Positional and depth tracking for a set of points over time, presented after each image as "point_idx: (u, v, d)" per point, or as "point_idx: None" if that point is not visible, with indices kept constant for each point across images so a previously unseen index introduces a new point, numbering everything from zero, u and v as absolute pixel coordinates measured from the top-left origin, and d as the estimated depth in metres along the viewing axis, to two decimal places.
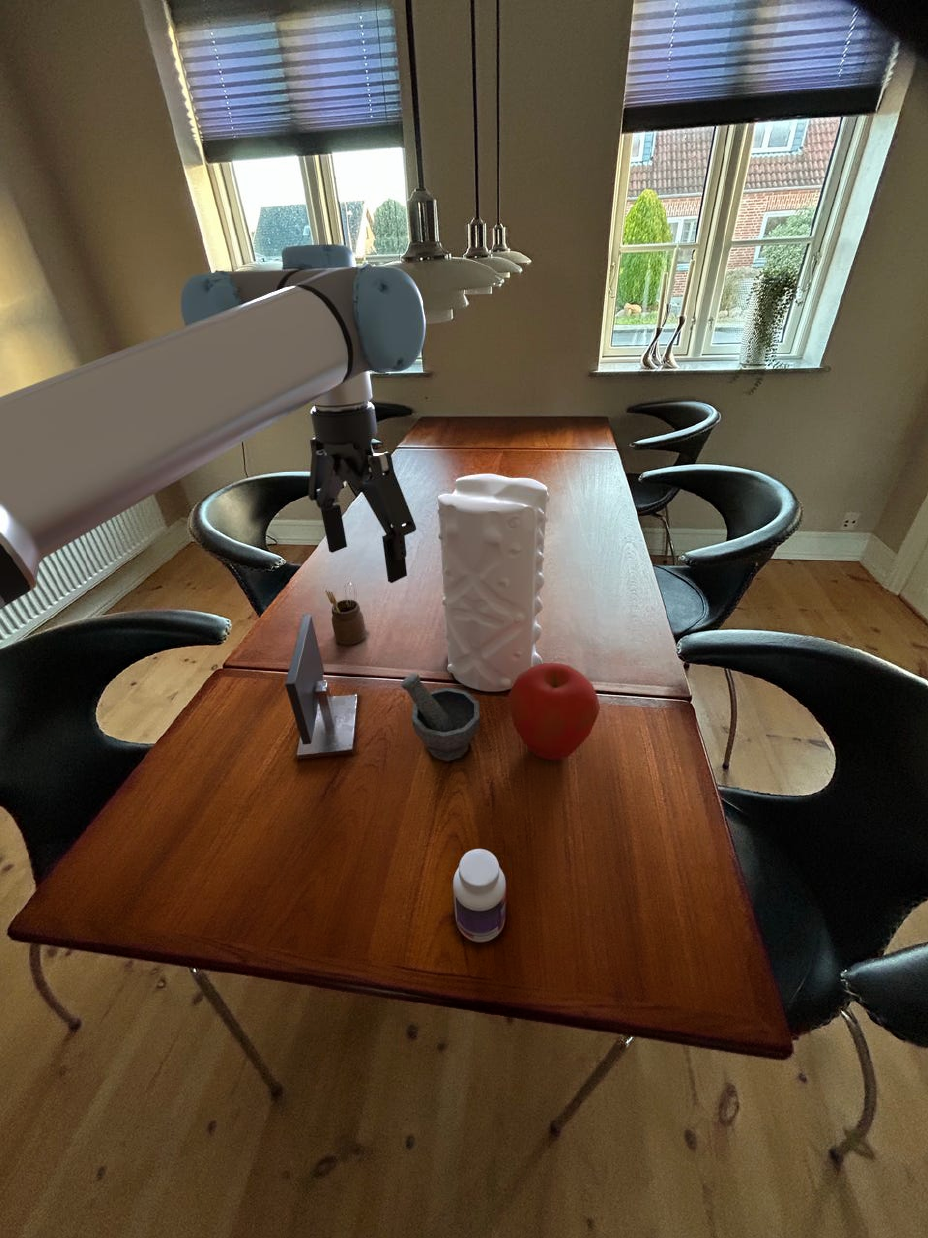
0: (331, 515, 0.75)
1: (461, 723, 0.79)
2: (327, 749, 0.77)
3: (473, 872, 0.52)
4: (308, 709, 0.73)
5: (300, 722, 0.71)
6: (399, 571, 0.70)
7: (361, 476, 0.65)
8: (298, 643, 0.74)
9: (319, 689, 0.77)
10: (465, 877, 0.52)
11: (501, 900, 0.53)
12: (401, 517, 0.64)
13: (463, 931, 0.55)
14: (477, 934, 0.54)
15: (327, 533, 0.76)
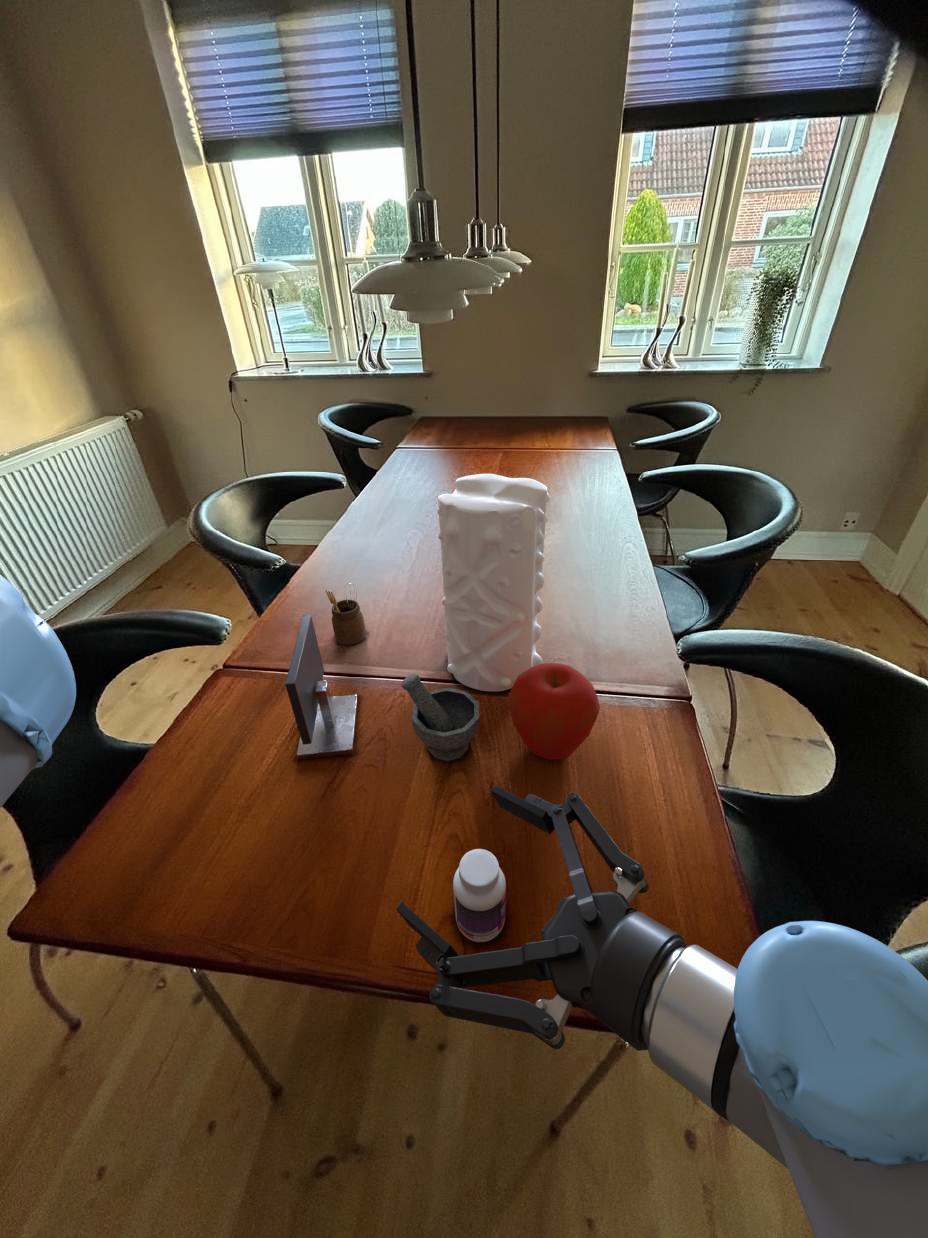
0: (537, 820, 0.49)
1: (461, 723, 0.79)
2: (327, 749, 0.77)
3: (473, 872, 0.52)
4: (308, 709, 0.73)
5: (300, 722, 0.71)
6: (410, 925, 0.46)
7: None
8: (298, 643, 0.74)
9: (319, 689, 0.77)
10: (465, 877, 0.52)
11: (501, 900, 0.53)
12: (457, 1012, 0.39)
13: (463, 931, 0.55)
14: (477, 934, 0.54)
15: (515, 800, 0.51)
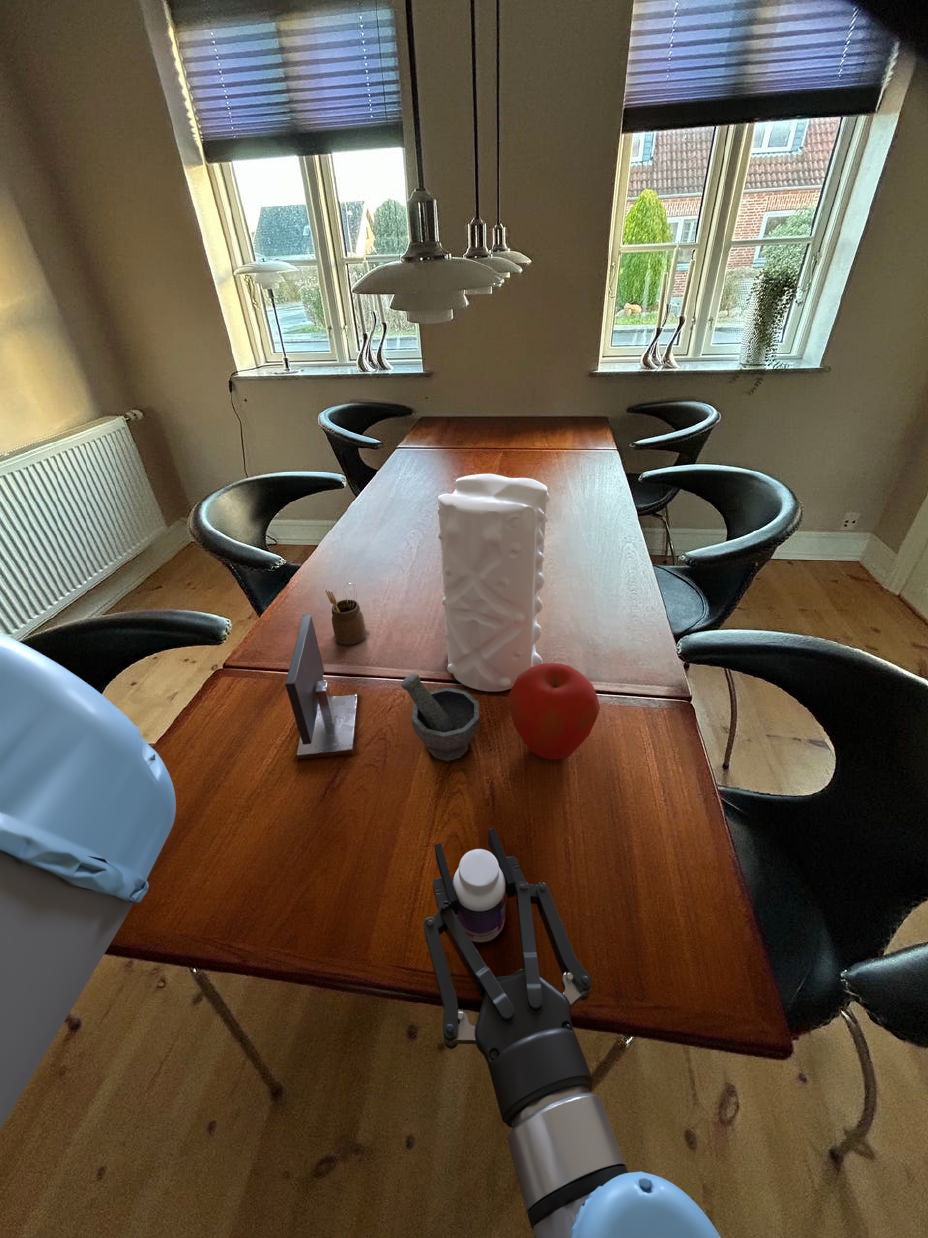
0: (505, 880, 0.55)
1: (461, 723, 0.79)
2: (327, 749, 0.77)
3: (473, 872, 0.52)
4: (308, 709, 0.73)
5: (300, 722, 0.71)
6: (437, 862, 0.57)
7: None
8: (298, 643, 0.74)
9: (319, 689, 0.77)
10: (465, 877, 0.51)
11: (501, 900, 0.53)
12: (428, 947, 0.50)
13: None
14: (477, 934, 0.54)
15: (499, 853, 0.56)
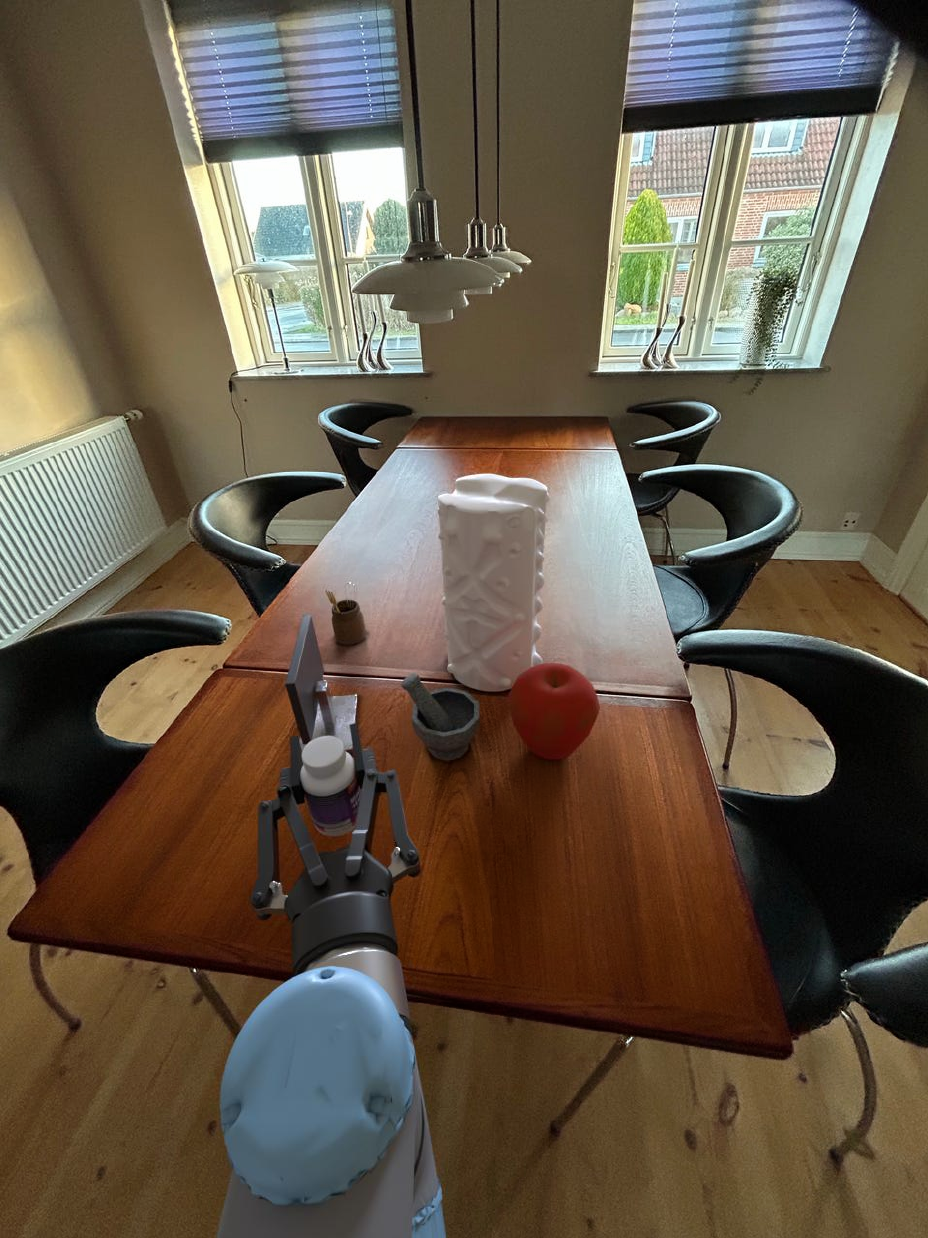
0: None
1: (461, 723, 0.79)
2: None
3: (315, 755, 0.50)
4: (308, 709, 0.73)
5: (300, 722, 0.71)
6: None
7: None
8: (298, 643, 0.74)
9: (319, 689, 0.77)
10: (306, 759, 0.49)
11: (348, 787, 0.51)
12: None
13: (315, 825, 0.53)
14: (327, 826, 0.52)
15: (355, 744, 0.54)
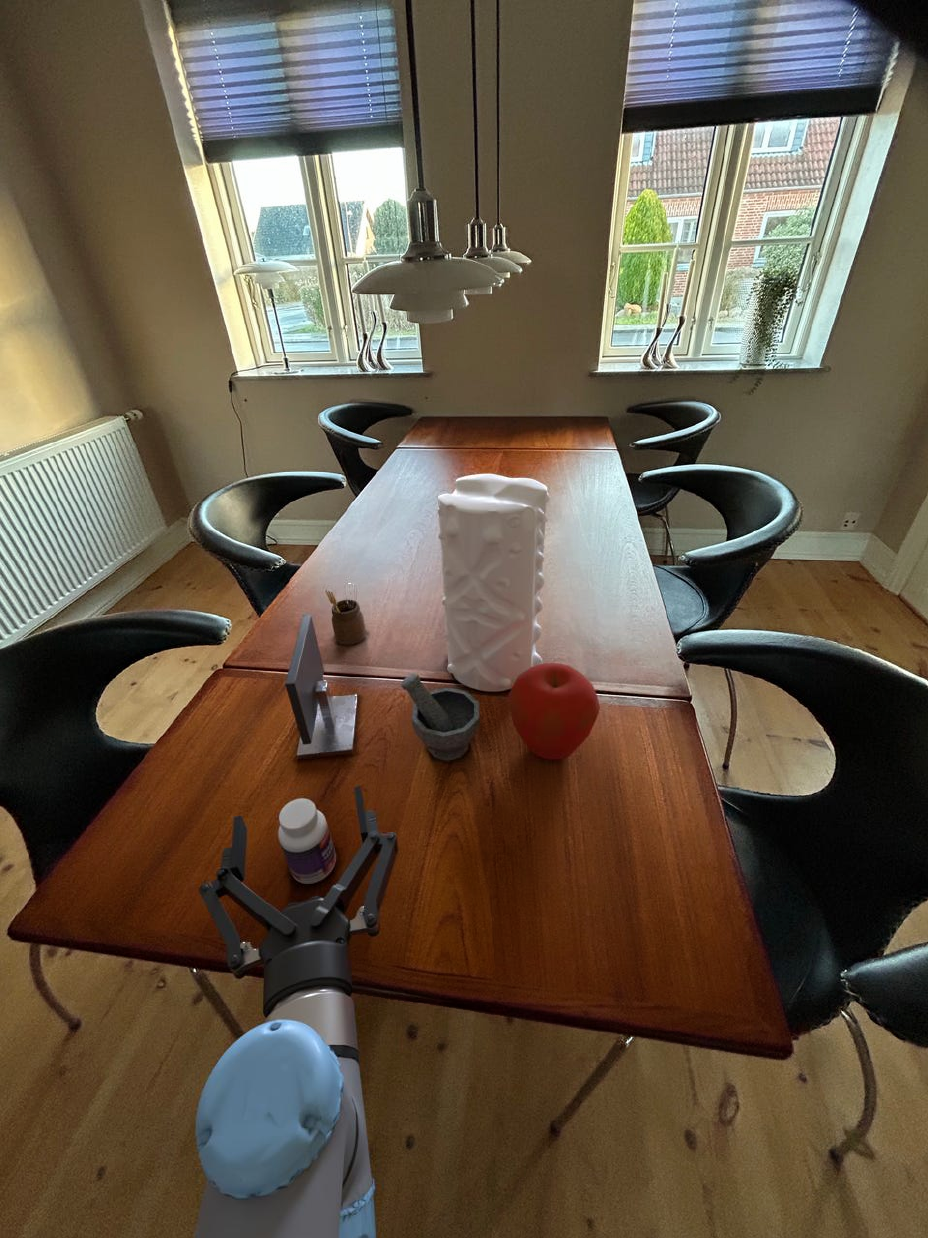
0: None
1: (461, 723, 0.79)
2: (327, 749, 0.77)
3: (291, 817, 0.58)
4: (308, 709, 0.73)
5: (300, 722, 0.71)
6: None
7: None
8: (298, 643, 0.74)
9: (319, 689, 0.77)
10: (282, 821, 0.57)
11: (319, 843, 0.59)
12: None
13: (292, 874, 0.61)
14: (302, 876, 0.60)
15: (359, 807, 0.61)
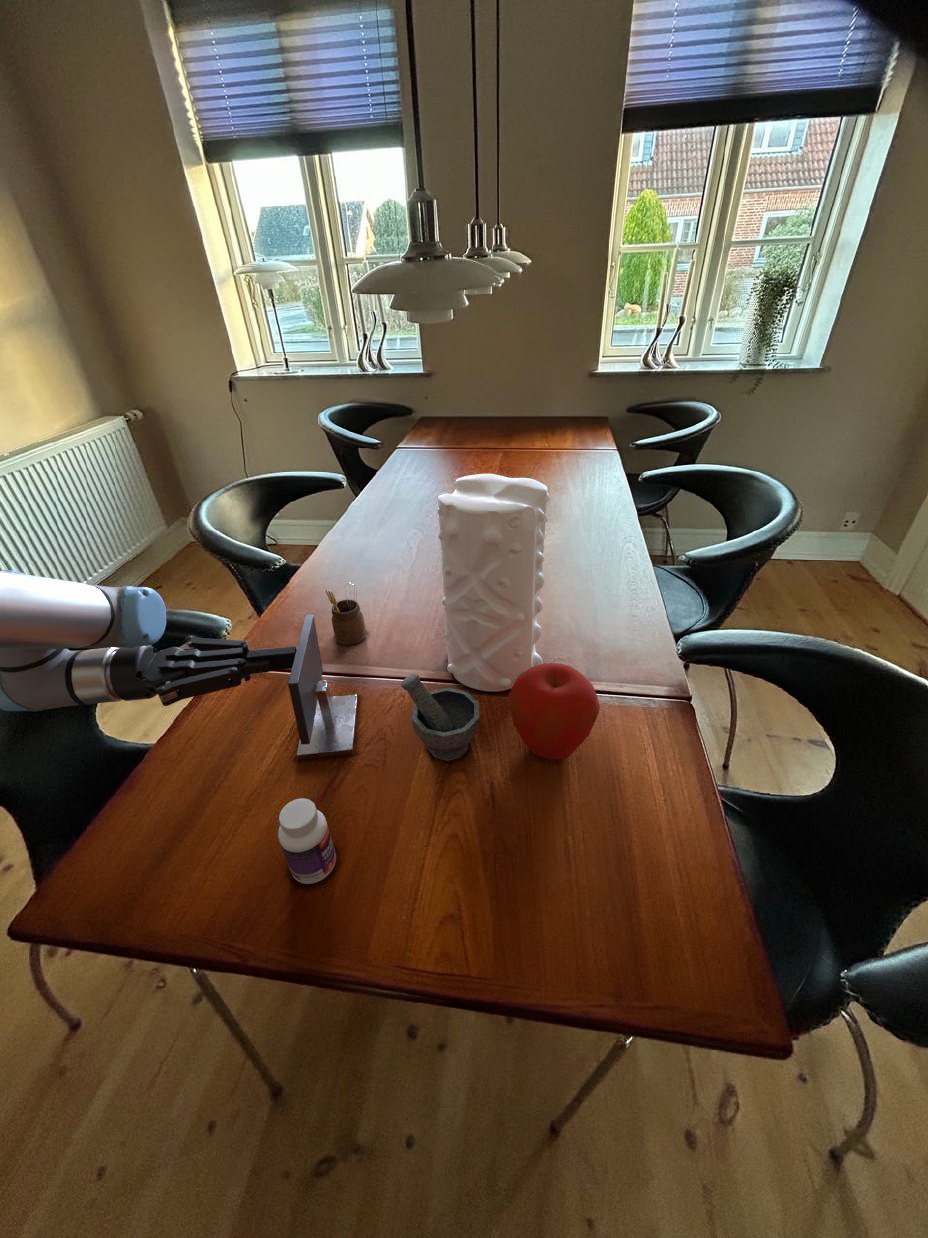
0: None
1: (461, 723, 0.79)
2: (327, 749, 0.77)
3: (291, 817, 0.58)
4: (308, 709, 0.73)
5: (300, 722, 0.71)
6: None
7: None
8: (301, 643, 0.74)
9: (319, 689, 0.77)
10: (282, 821, 0.57)
11: (319, 843, 0.59)
12: None
13: (292, 874, 0.61)
14: (302, 876, 0.60)
15: (272, 652, 0.73)
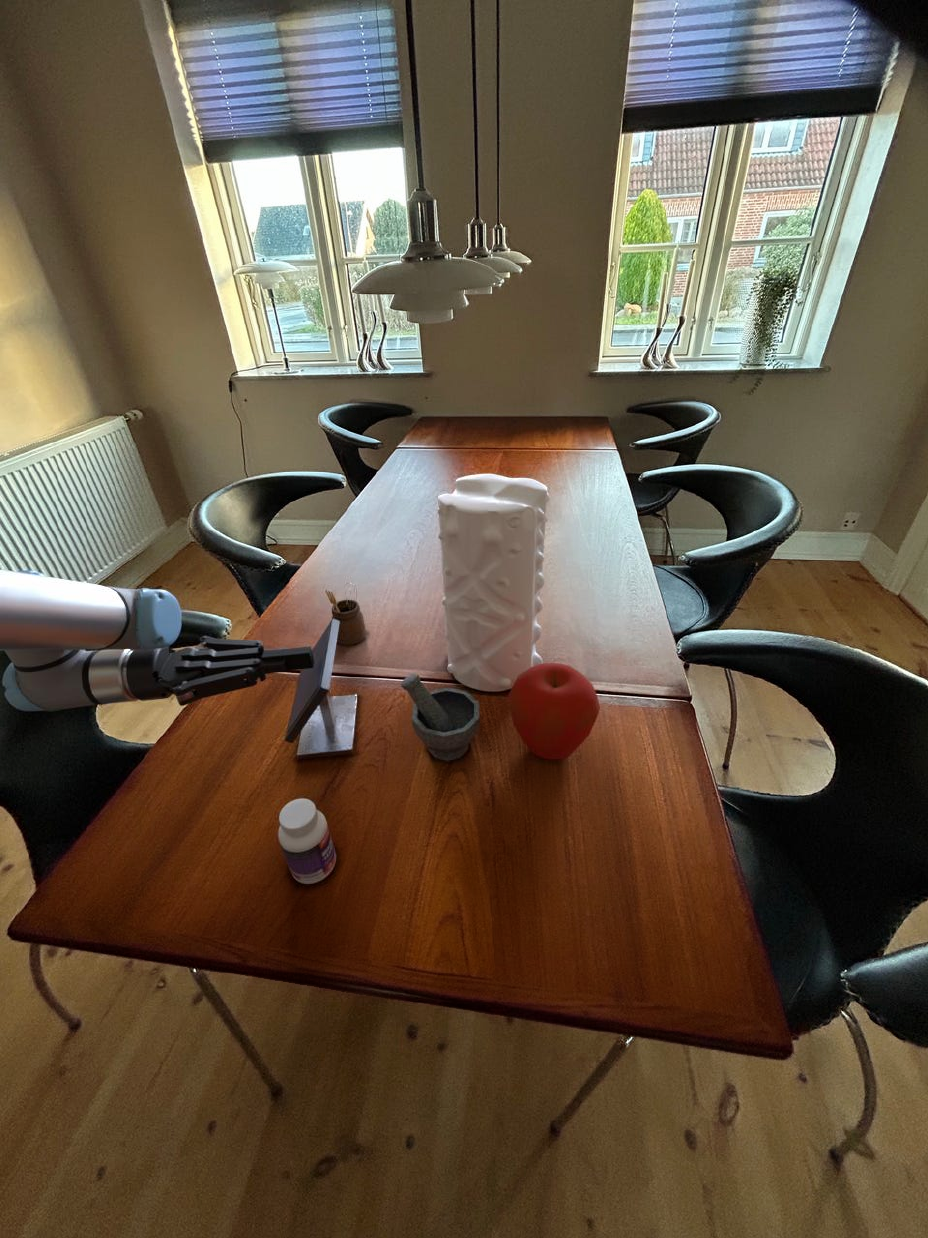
0: None
1: (461, 723, 0.79)
2: (327, 749, 0.77)
3: (291, 817, 0.58)
4: None
5: (301, 722, 0.71)
6: None
7: None
8: (330, 647, 0.75)
9: None
10: (282, 821, 0.57)
11: (319, 843, 0.59)
12: None
13: (292, 874, 0.61)
14: (302, 876, 0.60)
15: (287, 652, 0.74)
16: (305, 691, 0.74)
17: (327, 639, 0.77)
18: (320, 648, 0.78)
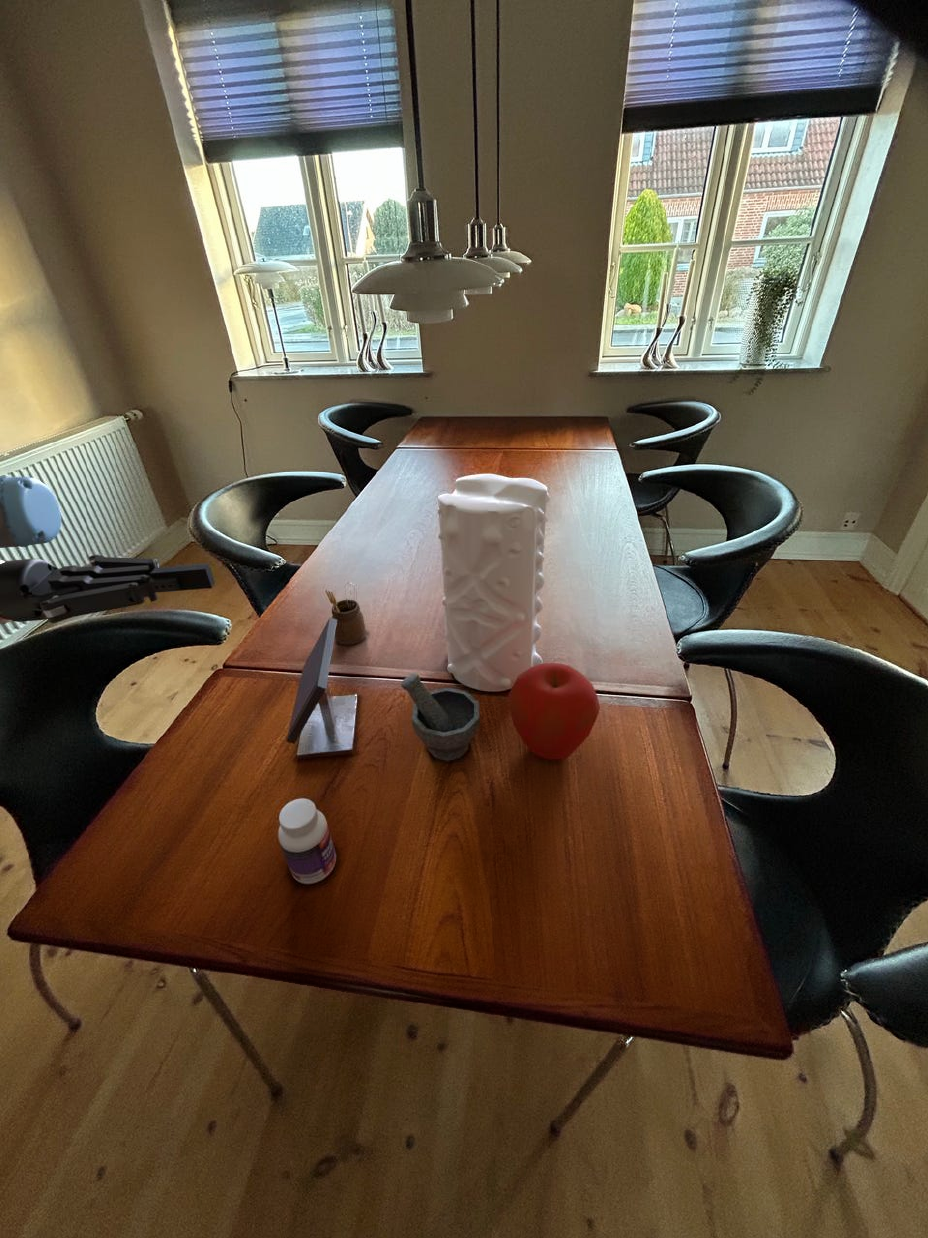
0: None
1: (461, 723, 0.79)
2: (327, 749, 0.77)
3: (291, 817, 0.58)
4: None
5: (301, 722, 0.71)
6: None
7: None
8: (327, 646, 0.75)
9: None
10: (282, 821, 0.57)
11: (319, 843, 0.59)
12: None
13: (292, 874, 0.61)
14: (302, 876, 0.60)
15: (181, 569, 0.65)
16: (304, 691, 0.74)
17: (324, 638, 0.77)
18: (318, 648, 0.78)
